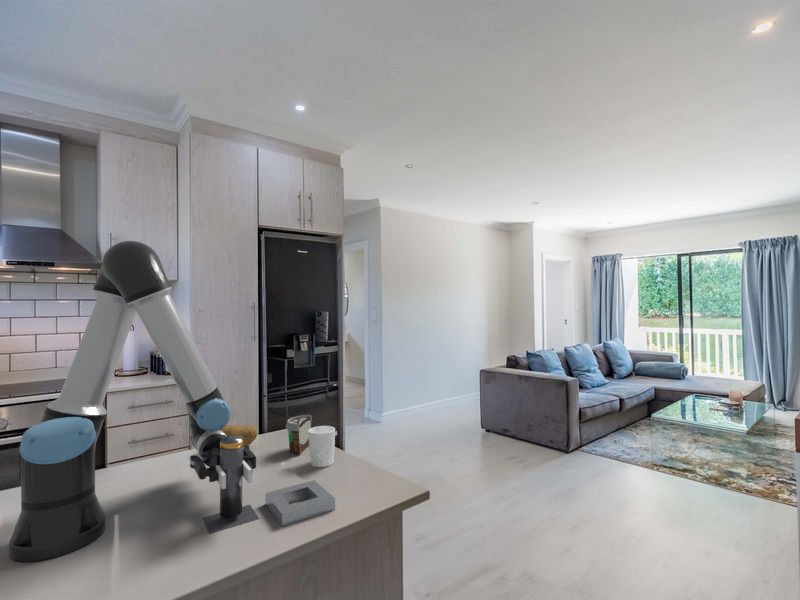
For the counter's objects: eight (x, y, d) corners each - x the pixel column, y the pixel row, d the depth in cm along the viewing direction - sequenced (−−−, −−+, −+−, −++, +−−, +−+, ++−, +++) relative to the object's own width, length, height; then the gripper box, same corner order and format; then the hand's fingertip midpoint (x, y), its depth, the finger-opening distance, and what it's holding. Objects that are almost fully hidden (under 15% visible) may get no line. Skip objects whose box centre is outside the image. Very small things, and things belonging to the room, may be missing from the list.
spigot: (221, 520, 86) (222, 443, 87) (217, 511, 90) (218, 437, 90) (245, 514, 89) (245, 439, 89) (239, 505, 93) (240, 434, 93)
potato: (253, 453, 132) (253, 428, 133) (208, 455, 131) (207, 430, 131) (261, 443, 142) (261, 420, 142) (219, 445, 141) (219, 421, 141)
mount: (209, 538, 83) (209, 533, 83) (202, 522, 90) (202, 517, 90) (259, 523, 89) (259, 518, 89) (249, 508, 96) (249, 504, 96)
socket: (282, 531, 86) (282, 514, 86) (265, 508, 96) (265, 493, 96) (335, 513, 93) (335, 498, 93) (314, 494, 102) (314, 480, 103)
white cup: (329, 469, 118) (329, 434, 118) (304, 467, 120) (303, 432, 120) (339, 459, 126) (338, 426, 126) (315, 457, 128) (314, 425, 128)
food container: (294, 443, 142) (294, 414, 142) (312, 443, 141) (311, 414, 141) (279, 456, 129) (279, 424, 130) (298, 457, 129) (297, 424, 129)
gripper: (250, 456, 109) (279, 487, 90) (176, 470, 100) (190, 509, 80) (250, 427, 110) (279, 452, 90) (176, 439, 100) (190, 470, 81)
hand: (237, 479), depth 85 cm, fingers closed on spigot, 4 cm apart
